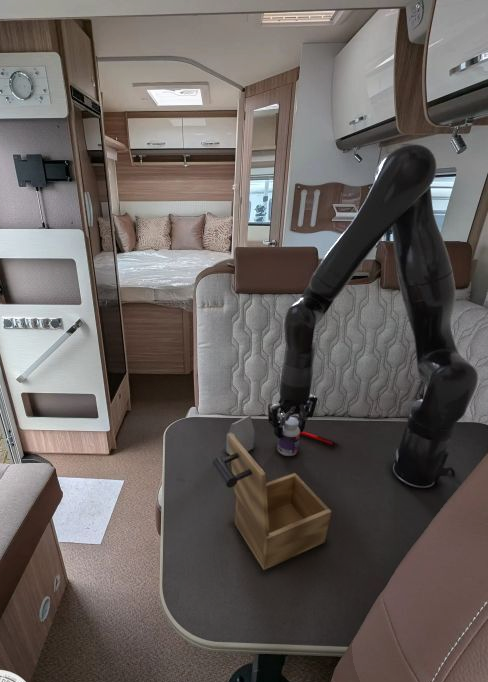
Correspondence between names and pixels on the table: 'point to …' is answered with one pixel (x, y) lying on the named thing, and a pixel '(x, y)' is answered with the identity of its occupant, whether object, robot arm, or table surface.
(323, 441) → the pen
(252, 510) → the lid
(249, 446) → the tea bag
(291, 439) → the pill bottle
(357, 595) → the table surface
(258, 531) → the chest
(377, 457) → the table surface
